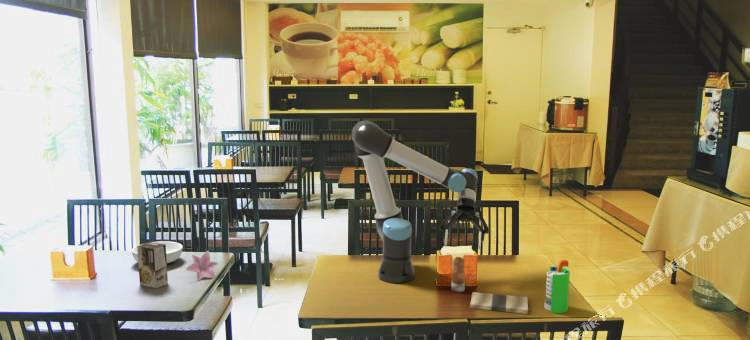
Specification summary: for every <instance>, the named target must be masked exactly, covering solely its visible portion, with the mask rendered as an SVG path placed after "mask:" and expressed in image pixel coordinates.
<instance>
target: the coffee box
mask: <svg viewBox="0 0 750 340" xmlns="http://www.w3.org/2000/svg"><path fill="white" fill-rule="evenodd" d="M152 242H153V241H147V242H145V243H142V245H141V244H138V245H139V246H138V245H136V246H137V252H138V262H137V263H138V264H137V265H138V275H139V286H144V287H148V288H153V289H159V288H161V287H163V286H165V285H167V284H168V283H169V282H168V281H169V279H168V278H169V277H168V263H167V260H166V245H165V244H159V243H152Z"/></svg>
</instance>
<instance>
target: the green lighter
mask: <svg viewBox="0 0 750 340" xmlns="http://www.w3.org/2000/svg"><path fill="white" fill-rule="evenodd" d="M557 265H558V266H552V265H551V266H549V270H548V271H547V272H546V283H545V284H546V285H545V288H546V289H545V297H546V298H547V299H545V300H544V308H545V310H547V311H550V313H551V314H563V313H566V312H568V311H569V295H570V294H569V291H570V270H569V269H568V268H569V260H567V259H561V260H560V261H559V263H558V264H557ZM565 267H568V268H565Z"/></svg>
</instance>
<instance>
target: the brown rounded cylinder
mask: <svg viewBox="0 0 750 340" xmlns="http://www.w3.org/2000/svg"><path fill="white" fill-rule="evenodd" d="M465 263H466V262H465V260H464V258H463V257H462V256H456V257H454V259H453V260H452V280H451V282H450V283H451V284H450V285H451V286H450V287H451V288H450V290H451V291H453V292H455V293H462V292H465V289H466V288H465V285H466V282H465V265H466V264H465Z"/></svg>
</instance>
